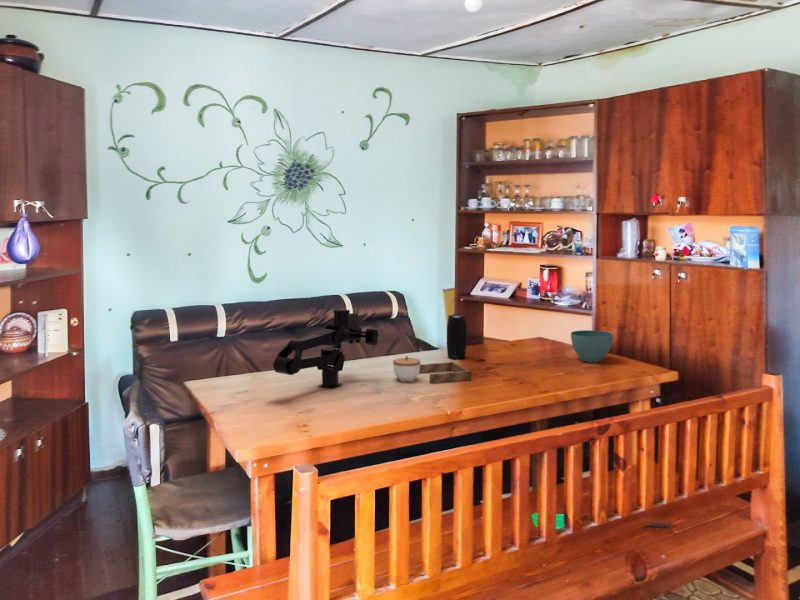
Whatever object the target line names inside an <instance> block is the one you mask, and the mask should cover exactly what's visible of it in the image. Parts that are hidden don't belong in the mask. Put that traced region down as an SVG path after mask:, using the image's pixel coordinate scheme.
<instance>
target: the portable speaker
mask: <svg viewBox="0 0 800 600" xmlns="http://www.w3.org/2000/svg"><path fill="white" fill-rule="evenodd" d="M467 328H468V326H467V317H466V315H464V314H460V313H454V314H451V315H450V314H448V318H447V326H446V353H447V356H448V358H450V359H451V360H455V361H456V359H459V360H460V358H463V359H466V353H467V343H468V341H467V340H468V339H467V336H468V334H467V333H468V331H467V330H468V329H467Z"/></svg>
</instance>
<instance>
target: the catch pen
mask: <svg viewBox="0 0 800 600" xmlns="http://www.w3.org/2000/svg"><path fill="white" fill-rule="evenodd" d="M444 371H446V372H444ZM452 371H453V372H452ZM431 372H434V373H431ZM419 373H421V374H429V384H430V383H433V384H442V383H441V382H444V383H452V382H451V381H456V382H463V381H462V380H468V381H472V370H469V369H467V368H465V367H463V366H462V365H459V364H458V363H456V362H454V361H449V362H436V363H434V362H433V363H424V364H421V363H420V371H419Z"/></svg>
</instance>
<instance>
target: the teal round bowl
mask: <svg viewBox="0 0 800 600" xmlns="http://www.w3.org/2000/svg"><path fill="white" fill-rule="evenodd" d="M570 340H571V344H572V348H573V350H574V352H575V353H576V355H577V356H578V358H579V359H580V360H581V361H582V362H584V361H587V362H586V363H600V362H599V361H601V362H602V361H603V360H604V359H605V357H606V356H607V355H608V354H609V352H610V350H611V347H612V344H613V341H614V333H612V332H608V331H602V330H591V329H589V330H586V329H585V330H583V329H582V330H575V331H572V332H570Z"/></svg>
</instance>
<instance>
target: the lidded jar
mask: <svg viewBox="0 0 800 600" xmlns="http://www.w3.org/2000/svg"><path fill="white" fill-rule="evenodd" d="M392 363H393V372H394V376H396V378H397V379H398V380H399V381H400V380H402V381H401V382H405V381H409V382H414V381H415V380H416V379H417V377H418V376H419V371H420V365H421V360H420V359H419V358H414V357H409V356H408V355H407V356H406V355H405V357H399V358H398V357H397V358H395V359H393V360H392ZM413 380H414V381H413Z"/></svg>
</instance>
